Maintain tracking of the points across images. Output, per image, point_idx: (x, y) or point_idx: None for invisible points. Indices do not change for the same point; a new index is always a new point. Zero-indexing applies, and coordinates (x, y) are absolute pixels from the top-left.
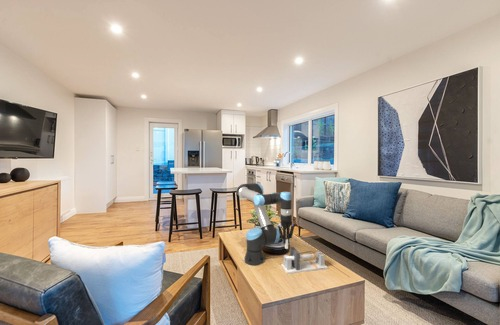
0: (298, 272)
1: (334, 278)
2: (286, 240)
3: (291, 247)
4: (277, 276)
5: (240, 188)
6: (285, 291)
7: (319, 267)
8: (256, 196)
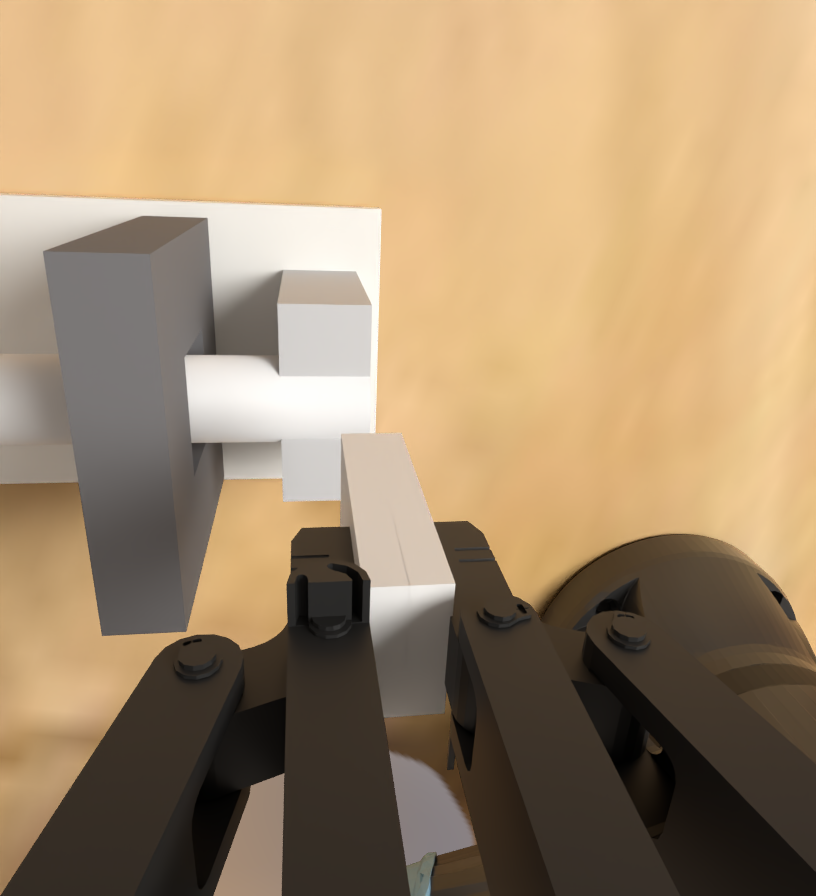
0: (180, 200)
1: None
2: (428, 564)
3: (162, 612)
4: (545, 183)
5: None
6: None
7: None
8: None
